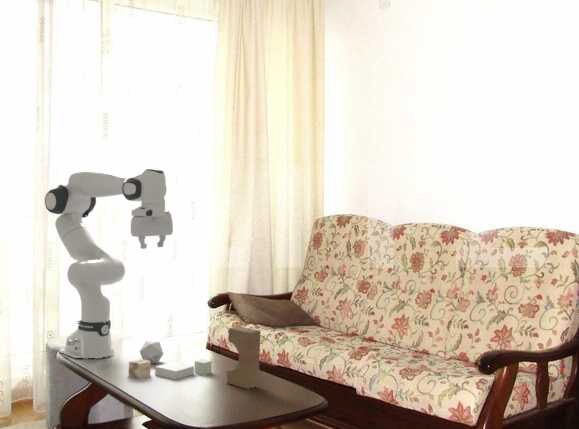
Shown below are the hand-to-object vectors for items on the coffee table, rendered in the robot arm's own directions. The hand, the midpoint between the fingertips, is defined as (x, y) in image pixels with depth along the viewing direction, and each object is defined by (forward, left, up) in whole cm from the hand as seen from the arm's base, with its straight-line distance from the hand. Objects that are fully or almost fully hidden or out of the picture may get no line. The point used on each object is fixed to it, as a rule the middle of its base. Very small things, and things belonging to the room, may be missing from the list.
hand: (152, 247), depth 275 cm
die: (-6, +8, -46) cm, 47 cm away
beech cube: (+5, -9, -46) cm, 47 cm away
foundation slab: (+13, +1, -46) cm, 48 cm away
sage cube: (+19, +10, -46) cm, 51 cm away
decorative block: (+40, +6, -46) cm, 62 cm away
